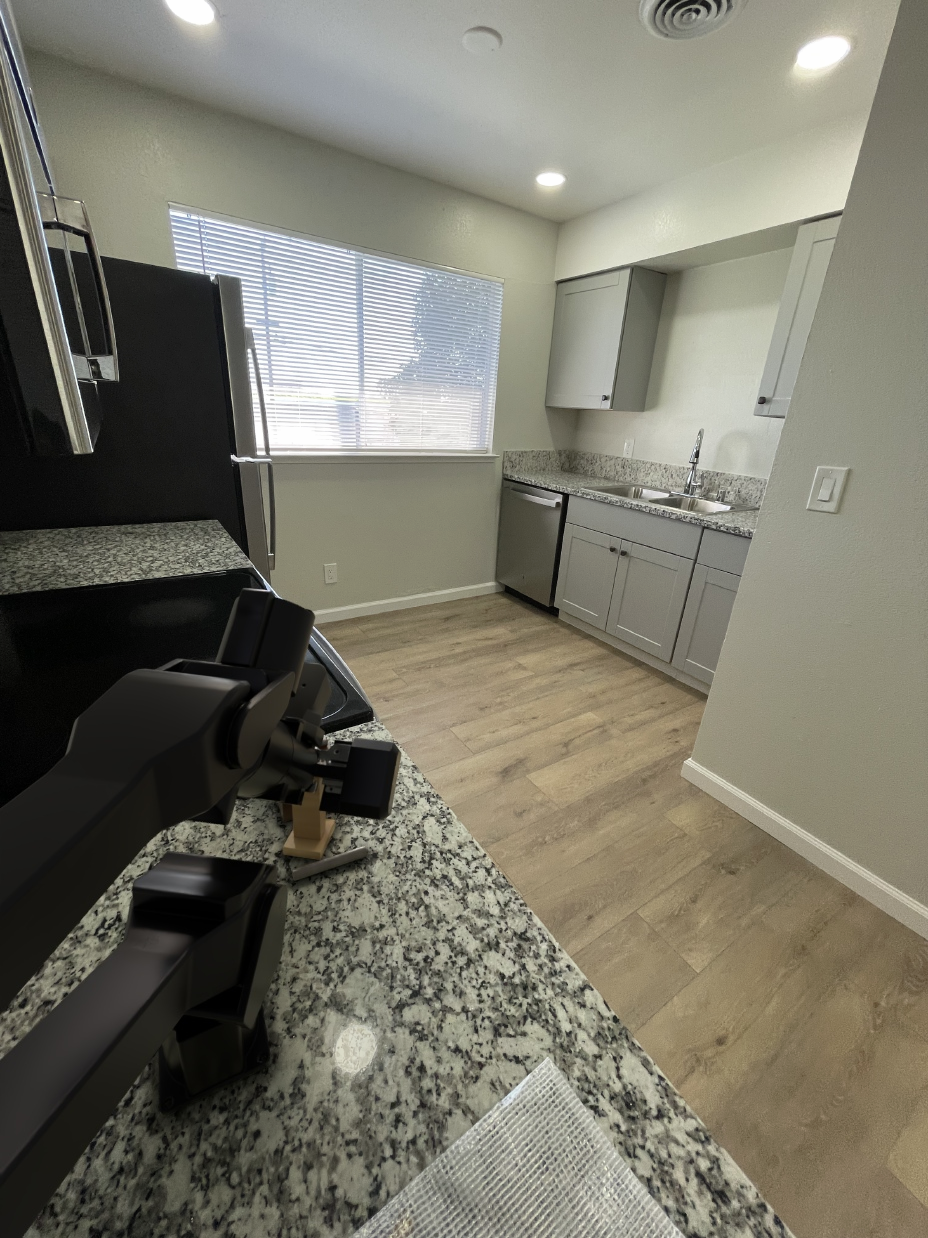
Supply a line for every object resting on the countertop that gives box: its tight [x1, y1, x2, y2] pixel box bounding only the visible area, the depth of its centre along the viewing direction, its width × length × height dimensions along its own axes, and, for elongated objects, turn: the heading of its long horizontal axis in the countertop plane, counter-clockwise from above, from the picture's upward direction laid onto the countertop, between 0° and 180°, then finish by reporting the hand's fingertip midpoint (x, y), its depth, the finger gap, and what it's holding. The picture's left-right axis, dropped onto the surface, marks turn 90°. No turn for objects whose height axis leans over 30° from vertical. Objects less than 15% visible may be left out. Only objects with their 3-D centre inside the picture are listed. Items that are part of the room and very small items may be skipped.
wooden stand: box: [277, 738, 368, 882], centre depth 55 cm, size 16×8×4 cm, turn 29°
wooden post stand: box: [282, 747, 336, 861], centre depth 50 cm, size 5×4×10 cm
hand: (313, 778), depth 51 cm, fingers open, 5 cm apart
